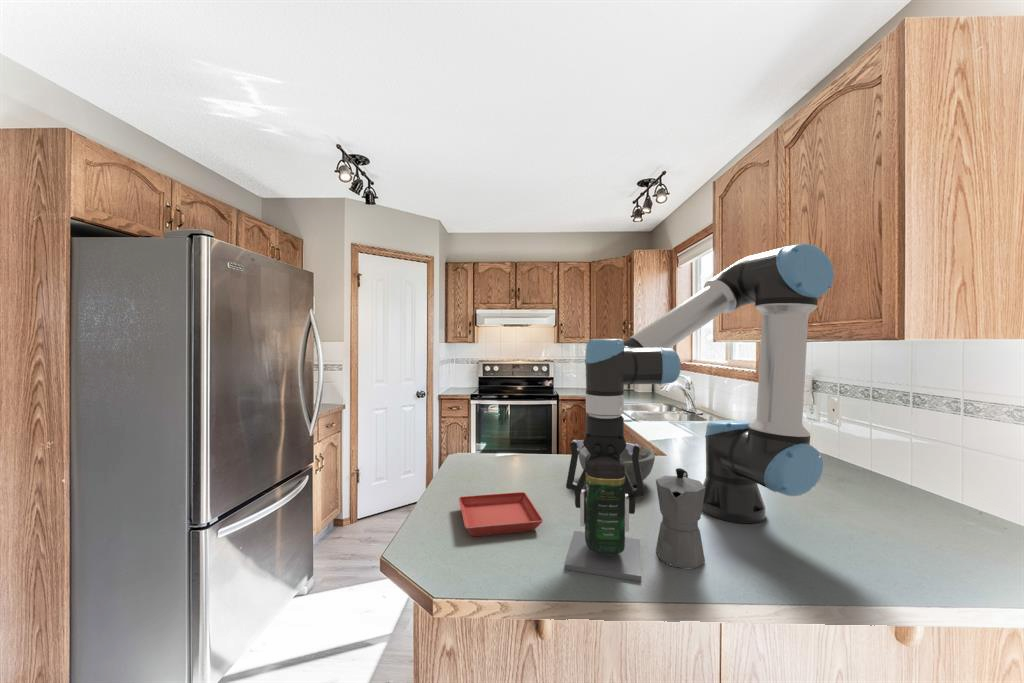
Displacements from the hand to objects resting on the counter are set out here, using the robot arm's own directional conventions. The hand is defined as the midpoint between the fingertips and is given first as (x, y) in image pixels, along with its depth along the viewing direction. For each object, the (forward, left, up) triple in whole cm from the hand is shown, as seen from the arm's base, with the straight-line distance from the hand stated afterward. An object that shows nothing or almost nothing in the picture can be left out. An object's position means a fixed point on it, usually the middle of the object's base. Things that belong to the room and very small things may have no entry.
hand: (604, 525), depth 83 cm
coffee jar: (0, 0, -4) cm, 4 cm away
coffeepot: (-15, -5, -6) cm, 17 cm away
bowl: (-1, -44, -6) cm, 44 cm away
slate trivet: (0, 0, -6) cm, 6 cm away
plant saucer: (+26, -10, -7) cm, 29 cm away
